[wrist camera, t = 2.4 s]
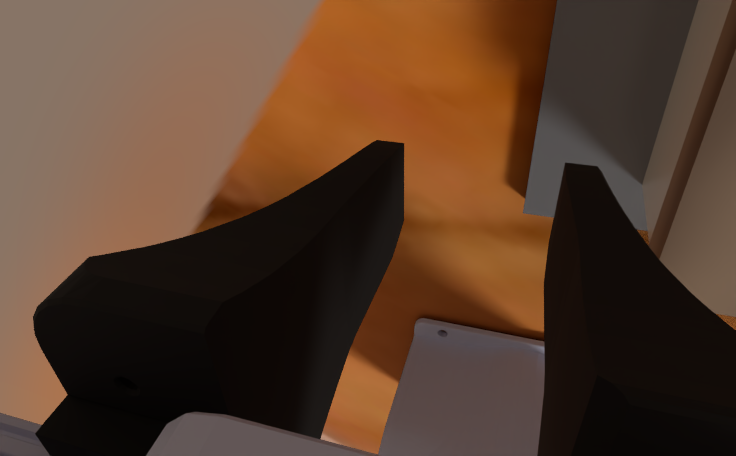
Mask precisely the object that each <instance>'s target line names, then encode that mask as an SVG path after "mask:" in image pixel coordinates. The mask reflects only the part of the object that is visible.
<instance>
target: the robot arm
mask: <svg viewBox="0 0 736 456" xmlns="http://www.w3.org/2000/svg"><path fill="white" fill-rule="evenodd" d="M403 221H404V143H397V142H388V141H380V140H376V141H375V142H373V143H371V144H369V145H368V146H366V147H365V148H363V149H362V150H360V151H359V152H357V153H356V154H354V155H353V156H351V157H350V158H349V159H347V160H346V161H344V162H343V163H341V164H340V165H338V166H336V167H335V168H333V169H332V170H330V171H329V172H327V173H326V174H324V175H323V176H321V177H320V178H318V179H316V180H314V181H313V182H311V183H309V184H308V185H306V186H304V187H302V188H301V189H299V190H297V191H295V192H294V193H292V194H290V195H289V196H287V197H285V198H283V199H281V200H279V201H277V202H275V203H273V204H271V205H269V206H267V207H265V208H262V209H260V210H258V211H256V212H253V213H251V214H249V215H247V216H244V217H242V218H239V219H236V220H234V221H231V222H228V223H225V224H222V225H220V226H217V227H214V228H211V229H209V230H206V231H203V232H200V233H196V234H193V235H190V236H186V237H183V238H179V239H175V240H171V241H167V242H164V243H160V244H156V245H151V246H147V247H143V248H137V249H131V250H127V251H121V252H115V253H111V254H105V255H99V256H92V257H89V258H87V260H85V262H84V263H82V264H81V265H80V266H79V267H78V268H77V269H76V270H75V271H74V272H73V273H72V274H71V275H70V276H69V277H68V278H67V279H66V280H65V281H64V282H62V283H61V284H60V285H59V286H58V287H57V288H56V289H55V290H54V291H53V292H52V293H51V294H50V295H49V296H48V297H47V298H46V299H45V300H44V301H43V302H42V303H41V304H40V305H38V307H37V309H36V311H35V314H34V316H33V321H34V331H35V336H36V338H37V340H38V343H39V345H40V347H41V349H42V351H43V353H44V354H45V356H46V358H47V360H48V361H49V363H50V365H51V366H52V368H53V370H54V371H55V373H56V375H57V377H58V379H59V380H60V382H61V384H62V386H63V387H64V389H65V391H66V392H67V394H68V395H67V396H66V398H65V399H64V400H63V401H62V402H61V404H60V405H59V406H58V407H57V408H56V409H55V411H54V412H53V413H52V414H51V415H50V417H49V418H48V419H47V420H46V421H45V422H44V424H43V425H40V424H36V423H33V422H30V421H26V420H23V419H19V418H16V417H12V416H9V415H6V414H2V413H0V456H736V330H734V329H733V328H732V327H730V326H729V325H728V324H727V323H726V322H724V321H723V320H722V319H721V318H720V317H718V316H717V315H716V314H715V313H714V312H713V311H711V310H710V309H709V308H708V307H707V306H705V305H704V304H703V303H702V302H701V301H700V300H699V299H698V298H696V297H695V296H694V295H693V294H692V293H691V292H690V291H689V290H688V289H687V288H686V287H685V286H684V285H683V284H682V283H681V282H680V281H679V280H678V279H677V278H676V277H675V276H674V275H673V274H672V273H671V272H670V271H669V270H668V269H667V268H666V267H665V265H664V264H663V263H662V262H661V261H660V260H659V259H658V257H657V256H656V255H655V254H654V252H653V251H652V250H651V249H650V247H649V246H648V245H647V244H646V242H645V241H644V240H643V238H642V237H641V235H640V234H639V233H638V231H637V230H636V228H635V227H634V225H633V224H632V222H631V221H630V219H629V218H628V216H627V215H626V214H625V212H624V210H623V209H622V207H621V206H620V204H619V202H618V201H617V199H616V197H615V195H614V194H613V192H612V190H611V188H610V187H609V185H608V183H607V181H606V179H605V177H604V175H603V173H602V171H601V170H600V169H599V167H598V166H591V165H583V164H574V163H566V162H565V165H564V170H563V175H562V180H561V185H560V190H559V195H558V200H557V205H556V210H555V215H554V220H553V225H552V230H551V235H550V239H549V246H548V254H547V262H546V270H545V279H544V341H539V340H533V339H528V338H523V337H518V336H513V335H508V334H503V333H498V332H493V331H488V330H483V329H477V328H472V327H467V326H462V325H457V324H452V323H447V322H442V321H437V320H432V319H426V318H420V319H418V320H417V321H416V323H415V327H414V337H413V341H412V344H411V347H410V350H409V353H408V356H407V359H406V363H405V366H404V369H403V372H402V375H401V378H400V381H399V385H398V388H397V391H396V394H395V397H394V400H393V403H392V407H391V410H390V413H389V416H388V419H387V422H386V426H385V429H384V433H383V437H382V441H381V445H380V449H379V454H378V455H377V454H374V453H370V452H366V451H362V450H358V449H355V448H351V447H347V446H343V445H339V444H336V443H332V442H328V441H324V440H320V438H321V435H322V431H323V428H324V425H325V422H326V419H327V416H328V413H329V409H330V406H331V403H332V400H333V397H334V394H335V391H336V388H337V385H338V382H339V379H340V376H341V373H342V370H343V367H344V364H345V361H346V359H347V356H348V353H349V350H350V347H351V345H352V343H353V340H354V338H355V335H356V333H357V331H358V329H359V327H360V325H361V323H362V320H363V318H364V316H365V314H366V312H367V310H368V308H369V306H370V304H371V302H372V300H373V297H374V295H375V293H376V291H377V289H378V287H379V285H380V283H381V281H382V278H383V276H384V274H385V272H386V270H387V268H388V266H389V263H390V261H391V259H392V257H393V254H394V251H395V248H396V244H397V241H398V238H399V235H400V231H401V228H402V225H403ZM441 330H444V331H446V332H444V331H441Z"/></svg>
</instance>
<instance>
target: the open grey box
mask: <svg viewBox="0 0 736 456" xmlns="http://www.w3.org/2000/svg"><path fill="white" fill-rule="evenodd" d="M731 2H732V0H699V1H698V4H697V7H696V11H695V14H694V17H693V20H692V24H691V27H690V30H689V33H688V37H687V40H686V43H685V46H684V50H683V53H682V56H681V59H680V63H679V66H678V69H677V73H676V76H675V79H674V82H673V86H672V89H671V92H670V95H669V99H668V102H667V105H666V108H665V112H664V115H663V118H662V121H661V125H660V128H659V131H658V135H657V138H656V141H655V144H654V148H653V151H652V154H651V157H650V161H649V164H648V167H647V170H646V174H645V177H644V180H643V183H642V188H643V197H644V205H645V213H646V221H647V229H648V237H649V243H650V240H651V237H652V234H653V231H654V228H655V225H656V222H657V219H658V216H659V213H660V211H661V208H662V205H663V202H664V199H665V196H666V193H667V190H668V187H669V184H670V181H671V178H672V175H673V172H674V169H675V167H676V164H677V161H678V158H679V155H680V152H681V149H682V146H683V143H684V140H685V137H686V134H687V131H688V128H689V126H690V123H691V120H692V117H693V114H694V111H695V108H696V105H697V102H698V99H699V96H700V93H701V90H702V87H703V84H704V82H705V79H706V76H707V73H708V70H709V67H710V64H711V61H712V58H713V55H714V52H715V49H716V46H717V43H718V40H719V38H720V35H721V32H722V29H723V26H724V23H725V20H726V17H727V14H728V11H729V8H730V5H731Z"/></svg>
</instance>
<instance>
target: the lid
mask: <svg viewBox="0 0 736 456" xmlns="http://www.w3.org/2000/svg"><path fill="white" fill-rule="evenodd" d="M649 247H650V249H651V250H652V251H653V252H654V254H655V255H656V256H657V257H658V259H659V260H660V261H661V262H662V263H663V264H664V265H665V267H666V268H667V269H668V270H669V271H670V272H671V273H672V274H673V275H674V276H675V277H676V278H677V279H678V280H679V281H680V282H681V283H682V284H683V285H684V286H685V287H686V288H687V289H688V290H689V291H690V292H691V293H692V294H693V295H694V296H695V297H696V298H698V299H699V300H700V301H701V302H702V303H703V304H704V305H705V306H707V307H708V308H709V309H710V310H711V311H713V312H714V313H715V314H721V315H727V316H733V317H736V0H732V2H731V5H730V8H729V11H728V14H727V17H726V20H725V23H724V26H723V29H722V32H721V35H720V38H719V40H718V43H717V46H716V49H715V52H714V55H713V58H712V61H711V64H710V67H709V70H708V73H707V76H706V79H705V82H704V84H703V87H702V90H701V93H700V96H699V99H698V102H697V105H696V108H695V111H694V114H693V117H692V120H691V123H690V126H689V128H688V131H687V134H686V137H685V140H684V143H683V146H682V149H681V152H680V155H679V158H678V161H677V164H676V167H675V169H674V172H673V175H672V178H671V181H670V184H669V187H668V190H667V193H666V196H665V199H664V202H663V205H662V208H661V211H660V213H659V216H658V219H657V222H656V225H655V228H654V231H653V234H652V237H651V240H650V243H649Z"/></svg>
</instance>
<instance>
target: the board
mask: <svg viewBox="0 0 736 456" xmlns="http://www.w3.org/2000/svg"><path fill="white" fill-rule="evenodd" d="M698 1H699V0H557V5H556V11H555V17H554V23H553V30H552V36H551V42H550V48H549V55H548V61H547V67H546V73H545V79H544V86H543V92H542V98H541V104H540V111H539V117H538V123H537V129H536V135H535V142H534V148H533V154H532V160H531V167H530V173H529V179H528V185H527V191H526V198H525V204H524V210H523V213H526V214H533V215H540V216H547V217H554V215H555V210H556V205H557V200H558V195H559V190H560V185H561V180H562V175H563V170H564V165H565V162H566V163H574V164H583V165H591V166H598V167H599V169H600V170H601V171H602V173H603V175H604V177H605V179H606V181H607V183H608V185H609V187H610V188H611V190H612V192H613V194H614V195H615V197H616V199H617V201H618V202H619V204H620V206H621V207H622V209H623V210H624V212H625V214H626V215H627V216H628V218H629V219H630V221H631V222H632V224H633V225H634V227H635V228H636V229H638V230H645V231H648V229H647V221H646V213H645V205H644V197H643V188H642V183H643V180H644V177H645V174H646V170H647V167H648V164H649V161H650V157H651V154H652V151H653V148H654V144H655V141H656V138H657V135H658V131H659V128H660V125H661V121H662V118H663V115H664V112H665V108H666V105H667V102H668V99H669V95H670V92H671V89H672V86H673V82H674V79H675V76H676V73H677V69H678V66H679V63H680V59H681V56H682V53H683V50H684V46H685V43H686V40H687V37H688V33H689V30H690V27H691V24H692V20H693V17H694V14H695V11H696V7H697V4H698Z"/></svg>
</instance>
